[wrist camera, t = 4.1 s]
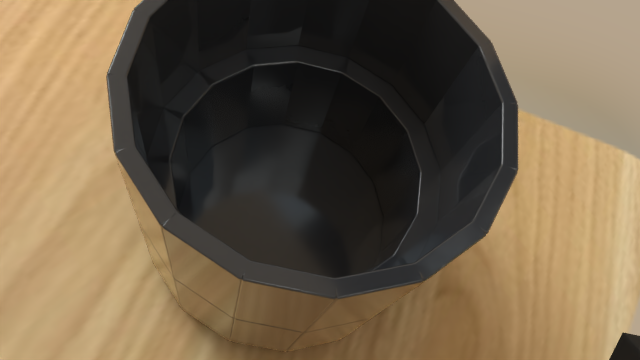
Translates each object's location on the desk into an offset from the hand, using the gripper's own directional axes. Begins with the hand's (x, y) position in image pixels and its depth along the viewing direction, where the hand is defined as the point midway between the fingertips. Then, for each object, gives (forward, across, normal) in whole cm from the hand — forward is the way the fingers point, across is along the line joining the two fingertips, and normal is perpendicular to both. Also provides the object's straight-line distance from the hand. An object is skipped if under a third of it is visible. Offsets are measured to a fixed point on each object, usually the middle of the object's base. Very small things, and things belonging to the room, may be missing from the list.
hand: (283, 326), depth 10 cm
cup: (+13, 0, -3) cm, 13 cm away
